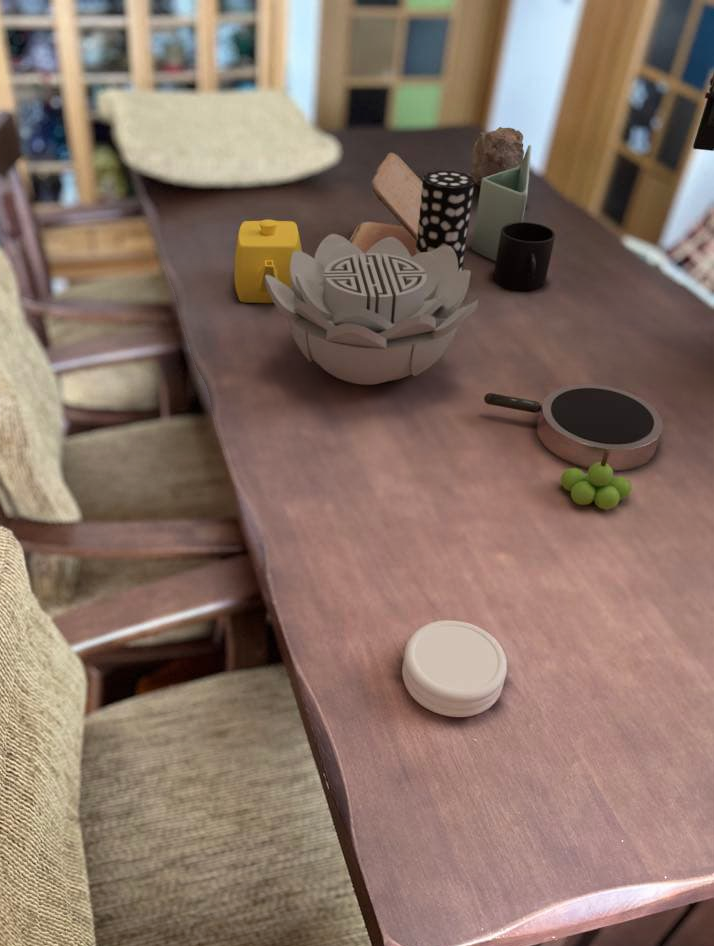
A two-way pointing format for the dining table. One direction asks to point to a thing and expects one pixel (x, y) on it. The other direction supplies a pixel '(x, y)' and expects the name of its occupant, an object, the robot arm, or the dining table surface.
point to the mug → (523, 255)
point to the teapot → (263, 257)
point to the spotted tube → (445, 212)
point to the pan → (593, 424)
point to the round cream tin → (454, 668)
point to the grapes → (596, 485)
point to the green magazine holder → (500, 206)
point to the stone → (496, 153)
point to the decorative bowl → (373, 307)
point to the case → (393, 206)
